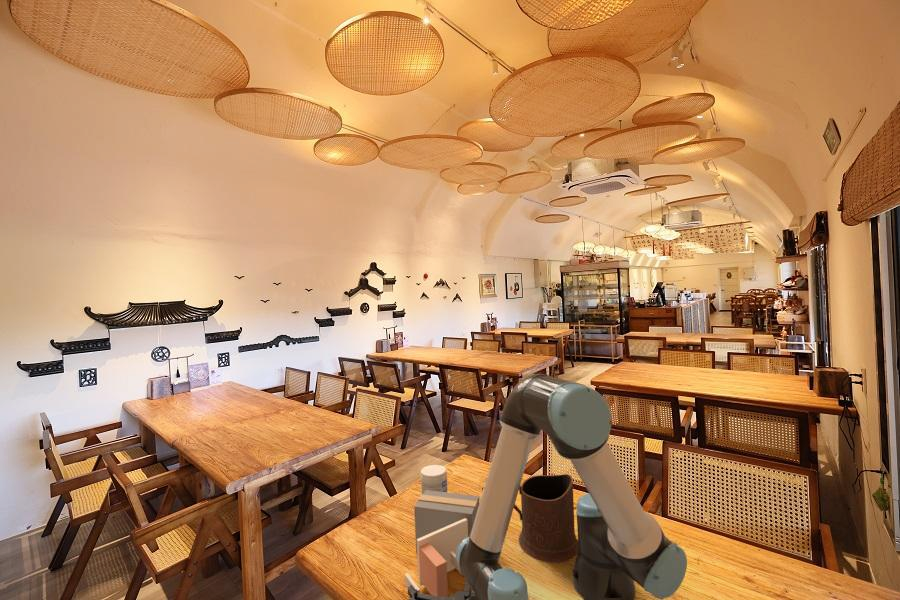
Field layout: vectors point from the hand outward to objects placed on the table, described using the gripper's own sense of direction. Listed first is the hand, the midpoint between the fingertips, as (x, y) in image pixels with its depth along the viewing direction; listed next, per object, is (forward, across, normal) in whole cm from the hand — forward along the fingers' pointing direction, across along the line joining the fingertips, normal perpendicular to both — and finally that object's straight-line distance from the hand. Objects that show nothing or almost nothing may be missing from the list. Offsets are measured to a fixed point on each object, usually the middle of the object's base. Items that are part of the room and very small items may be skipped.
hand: (429, 567), depth 97 cm
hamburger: (+32, +47, -8) cm, 57 cm away
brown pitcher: (-2, +38, -7) cm, 39 cm away
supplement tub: (+32, +21, -7) cm, 39 cm away
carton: (+13, +14, -7) cm, 20 cm away
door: (-1, +6, -6) cm, 9 cm away
